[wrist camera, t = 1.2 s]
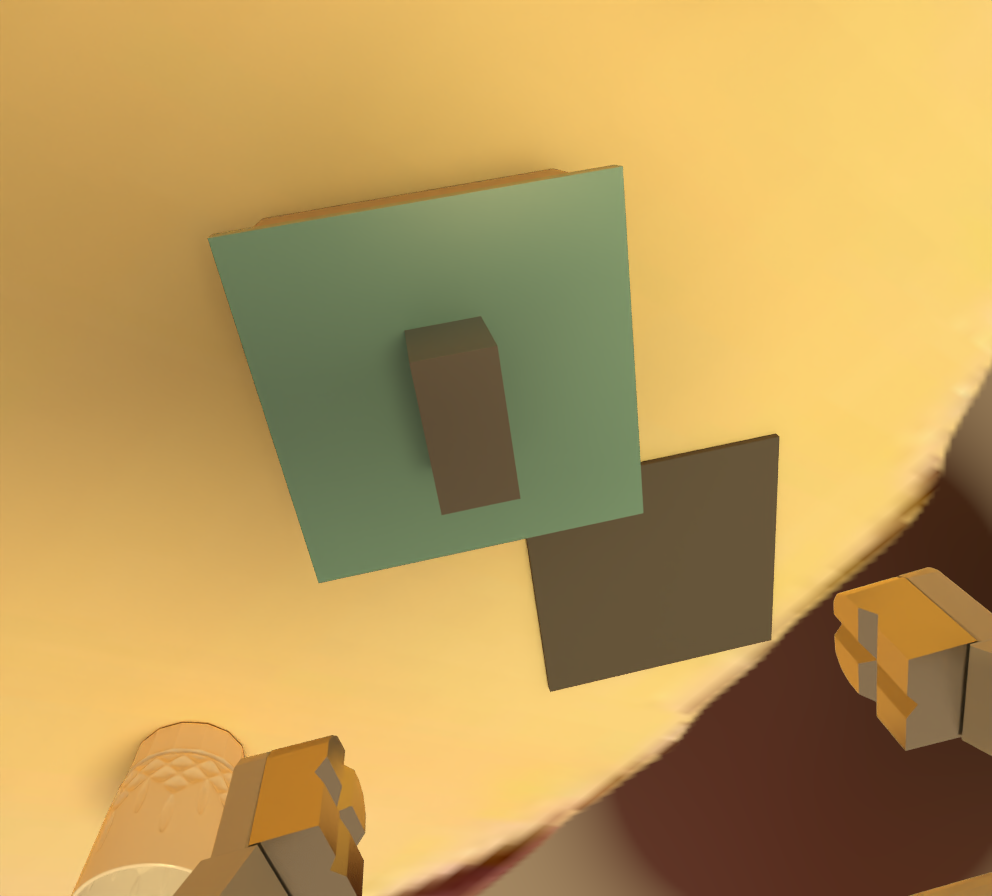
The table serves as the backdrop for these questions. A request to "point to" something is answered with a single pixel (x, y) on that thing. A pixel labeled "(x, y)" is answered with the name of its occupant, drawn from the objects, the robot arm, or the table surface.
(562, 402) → the lid
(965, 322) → the table surface
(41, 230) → the table surface
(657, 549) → the rubber mat
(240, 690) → the table surface
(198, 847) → the tan cup
